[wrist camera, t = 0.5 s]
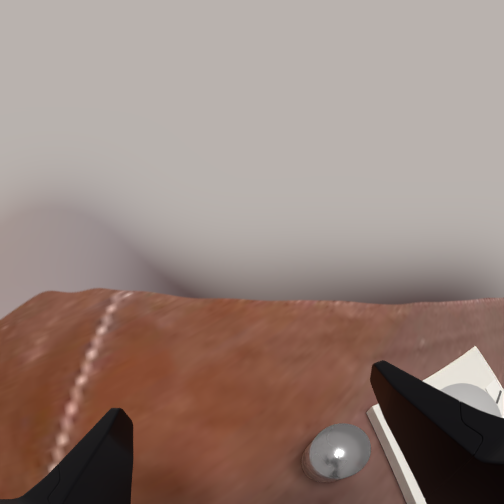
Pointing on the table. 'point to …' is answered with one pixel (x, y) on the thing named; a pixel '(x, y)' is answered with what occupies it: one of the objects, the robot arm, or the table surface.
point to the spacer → (336, 453)
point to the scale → (456, 385)
